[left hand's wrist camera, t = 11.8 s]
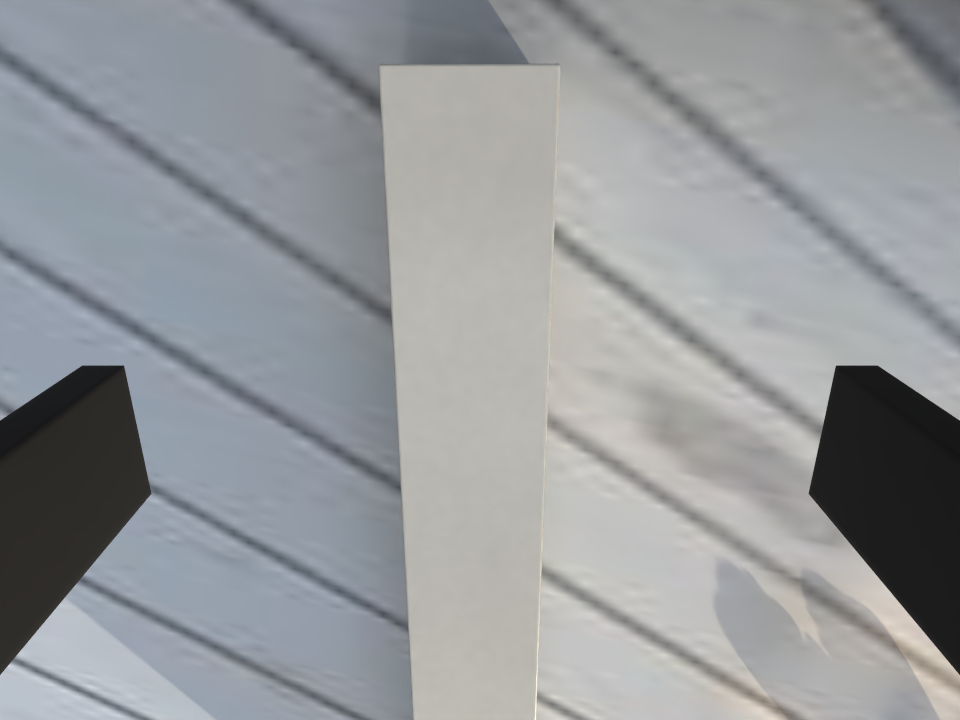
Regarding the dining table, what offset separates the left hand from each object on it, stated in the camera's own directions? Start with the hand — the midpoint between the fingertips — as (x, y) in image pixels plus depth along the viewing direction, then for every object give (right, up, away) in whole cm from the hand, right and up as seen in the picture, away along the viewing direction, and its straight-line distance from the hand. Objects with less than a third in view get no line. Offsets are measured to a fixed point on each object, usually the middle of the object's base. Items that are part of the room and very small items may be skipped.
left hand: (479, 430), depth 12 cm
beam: (0, -12, +26) cm, 29 cm away
